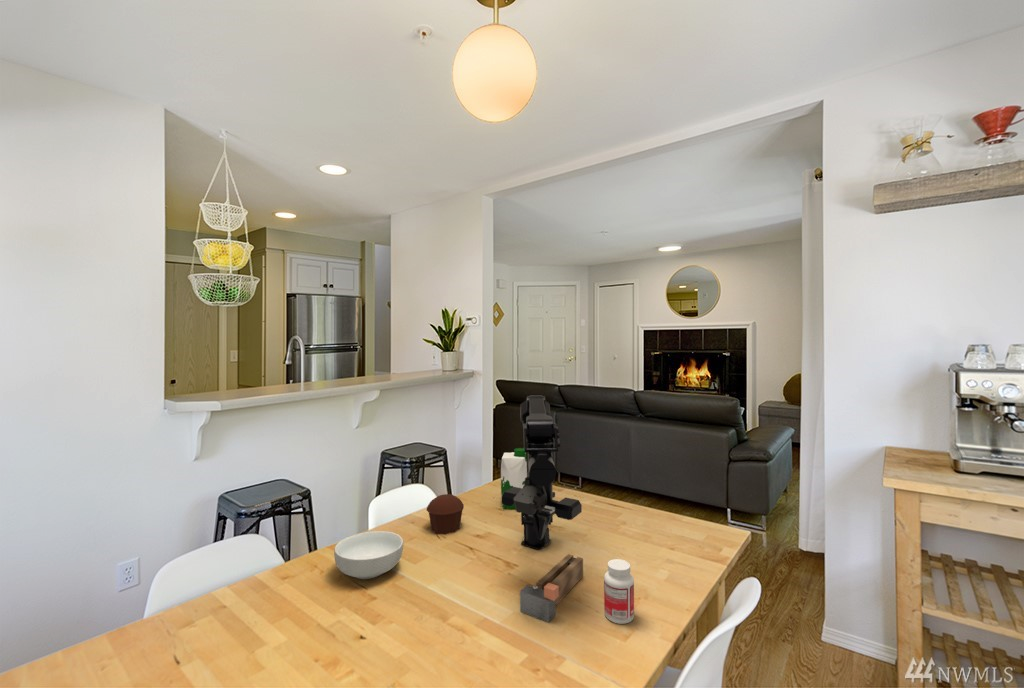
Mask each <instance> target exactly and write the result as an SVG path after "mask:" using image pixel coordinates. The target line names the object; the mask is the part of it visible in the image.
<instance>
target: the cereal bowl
mask: <svg viewBox="0 0 1024 688" xmlns="http://www.w3.org/2000/svg"><path fill="white" fill-rule="evenodd" d="M403 550H404V539H403V538H402V537H401V535H399V534H397V533H395V532H392V531H387V530H374V531H373V530H371V531H365V532H360V533H356V534H353V535H351V536H348V537H345V538H343V539H342V540H339V542H337V544H336V545H335V547H334V551H333V553H334V555H333V557H334V562H335V565H336V567H337V568H338V569H337V570H339V571H340V572H341V573H342V574H345V575H346V576H349V577H352V578H353V577H354V578H357V579H360V580H369V579H374V578H378V577H379V576H381V575H382V574H384V573H387V572H388V571H391V569H393V568H394V567H395V566H396V565H397V564H398V563H399V562H400V560H401V558H402V556H403Z"/></svg>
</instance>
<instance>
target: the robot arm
mask: <svg viewBox="0 0 1024 688" xmlns="http://www.w3.org/2000/svg"><path fill="white" fill-rule="evenodd" d="M550 405H551V404H550V403H549V402H548V401H547V400H546V396H545V395H544V396H543V394H542V395H541V394H540V395H533V394H532V395H527V396H526V400H524V401H523V402H522V403H520V411H519V412H520V416H519V417H520V422H522V427H523V448H524V452H526V453H527V477H526V478H525V481H524V482H525V484H524V487H523V488H518V487H512V488H510V489H508V490H507V491H505V492H503V494H502V496H501V502H500V503H501V505H502V506H503V505H508V506H512V505H513V504H515V508H516V510H515V512H516V513H518V514H520V518H521V519H520V521H521V526H523V540H522V541H521V542H520V544H521V545H522V546H526V547H528V548H532V549H536V550H539V551H540V550H543V548H544V547H546V546H547V545H548V544H550V543H551V541H552V540H551V539H550V527H549V526H551V525H552V523H553V522H554V518H553V517H554V515H556V516H557V518H560V519H564V520H569V521H571V520H572V521H573V520H574V518H576V517H577V516H579V515H580V514H581V513H582V511H583V510H582V503H581V501H580V500H579V499H576V498H575V499H574V498H570V497H564V498H562V499H561V500H557V499H554V498H555V497H556V492H555V491H553V489H554V488H553V482H554V481H555V480H556V478H557V468H556V465H555V462H554V460H553V453H558V452H559V448H560V447H561V441H560V439H561V438H560V428H559V427H558V424H557V423H554V419H553V417H552V416H551V406H550Z"/></svg>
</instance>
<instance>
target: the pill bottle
mask: <svg viewBox="0 0 1024 688" xmlns="http://www.w3.org/2000/svg"><path fill="white" fill-rule="evenodd" d="M603 599H604V601H603V605H604V607H603V608H604V609H603V610H604V615H605V617H606V618H607V620H609V621H610V622H612V623H615V624H619V625H620V624H622V625H623V624H624V625H625V624H628V623H630V622H632V621H633V620H634V618H635V580H634V577H633V575H632V574H631V564H630V563H629V562H628V561H627V560H625V559H621V558H615V559H611V560H609V561H608V562H607V571H606V572H605V574H604V577H603Z"/></svg>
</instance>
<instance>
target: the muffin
mask: <svg viewBox="0 0 1024 688" xmlns="http://www.w3.org/2000/svg"><path fill="white" fill-rule="evenodd" d="M464 507H465V506H464V503H463V501H462V500H461V499H460V498H459V497H458V496H456V495H454V494H450V493H449V494H448V493H445V494H441V495H437V496H436V497H434V498H433V499H432V500H431V501H430V502H429V503H428V505H427V506H426V511H427V512H428V517H429V522H430V528H431V532H433V533H435V534H436V535H437V534H438V535H449V534H454V533H456V532H457V531H458V530H460V529H461V523H462V522H461V521H462V515H463V510H464V509H465V508H464Z"/></svg>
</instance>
